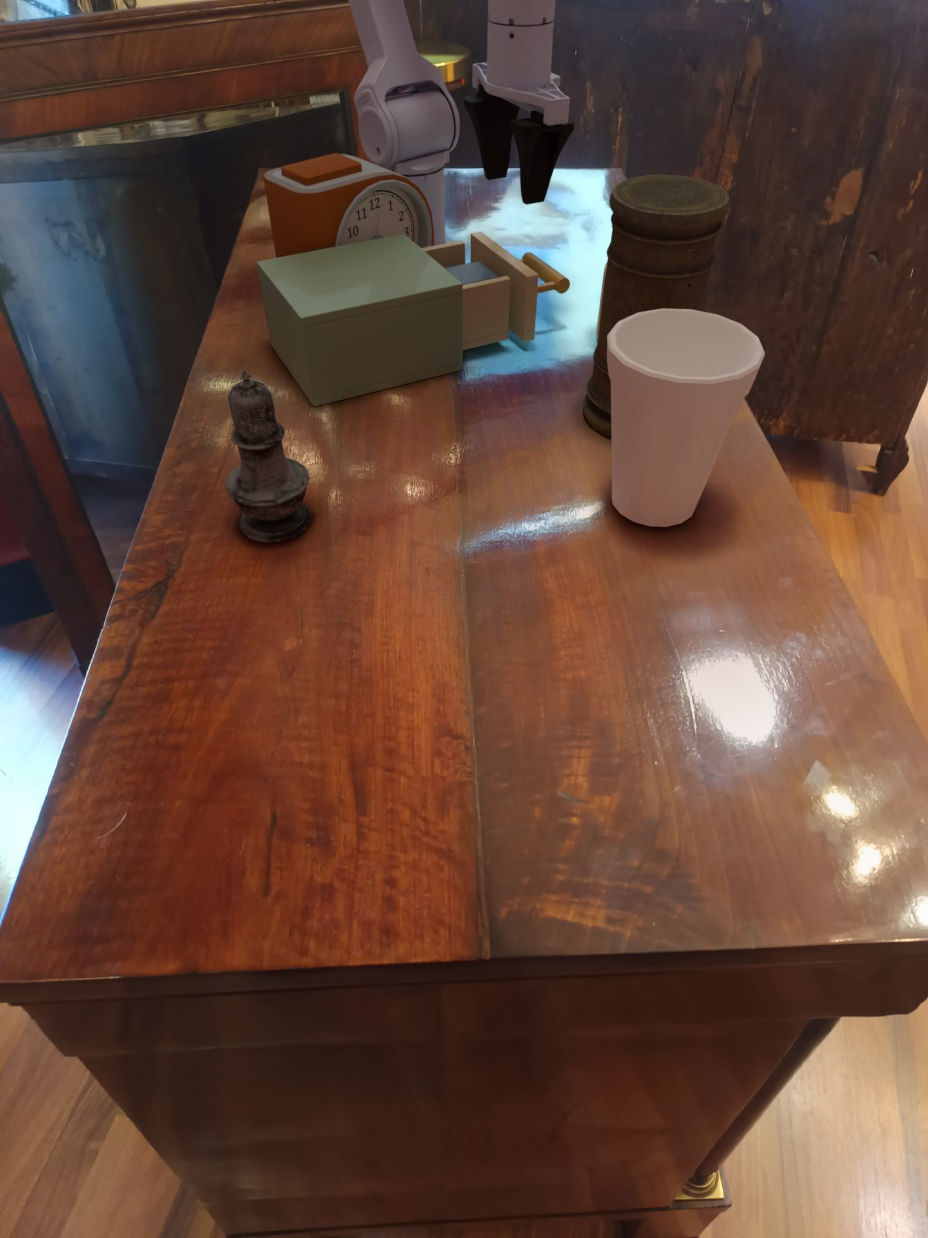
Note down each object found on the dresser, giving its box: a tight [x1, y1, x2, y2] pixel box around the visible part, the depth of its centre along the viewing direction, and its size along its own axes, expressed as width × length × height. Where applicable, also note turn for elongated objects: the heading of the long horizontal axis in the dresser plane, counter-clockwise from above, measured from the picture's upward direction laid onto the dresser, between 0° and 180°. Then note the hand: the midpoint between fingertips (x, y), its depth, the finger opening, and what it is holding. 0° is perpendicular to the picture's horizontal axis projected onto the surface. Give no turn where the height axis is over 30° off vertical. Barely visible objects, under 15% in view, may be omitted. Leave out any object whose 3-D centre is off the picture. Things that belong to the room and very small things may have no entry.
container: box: [582, 174, 731, 438], centre depth 64 cm, size 9×9×18 cm
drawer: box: [421, 231, 571, 351], centre depth 79 cm, size 18×11×6 cm, turn 116°
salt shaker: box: [225, 370, 313, 544], centre depth 56 cm, size 6×6×12 cm
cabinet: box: [255, 234, 464, 408], centre depth 75 cm, size 15×13×8 cm
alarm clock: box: [262, 152, 434, 258], centre depth 82 cm, size 15×8×14 cm, turn 132°
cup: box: [607, 309, 766, 528], centre depth 57 cm, size 10×10×13 cm
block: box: [445, 261, 499, 285], centre depth 79 cm, size 4×4×4 cm
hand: (514, 189), depth 80 cm, fingers open, 7 cm apart
